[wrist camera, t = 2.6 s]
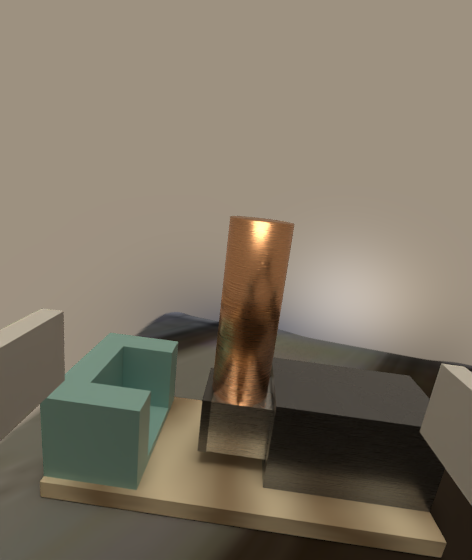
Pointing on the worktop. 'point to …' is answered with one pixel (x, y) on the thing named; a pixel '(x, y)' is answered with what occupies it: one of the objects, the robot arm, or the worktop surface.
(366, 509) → the base board
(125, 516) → the worktop surface
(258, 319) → the slip bolt
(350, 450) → the sleeve
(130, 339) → the socket
